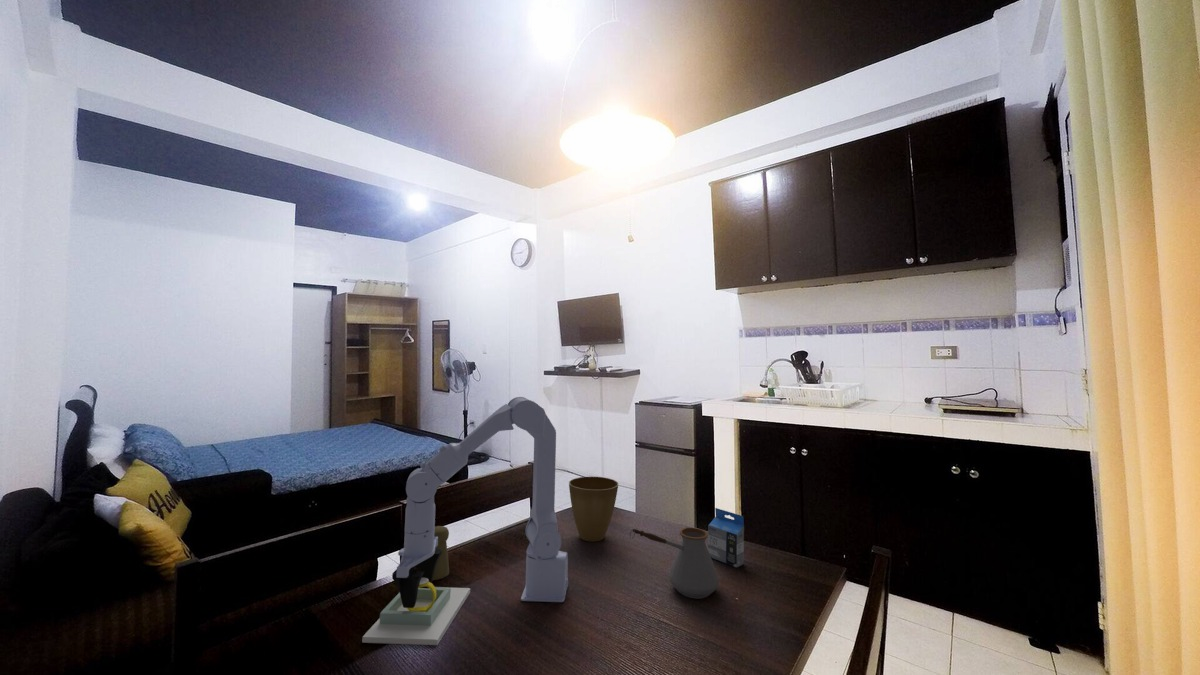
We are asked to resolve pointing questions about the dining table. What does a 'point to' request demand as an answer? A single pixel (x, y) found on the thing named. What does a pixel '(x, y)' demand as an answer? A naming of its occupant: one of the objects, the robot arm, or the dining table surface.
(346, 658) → the dining table surface
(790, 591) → the dining table surface
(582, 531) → the plant pot
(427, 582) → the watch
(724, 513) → the label tape box
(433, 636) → the pocket plate
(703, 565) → the coffee pot
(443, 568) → the olive pawn shaped peg
